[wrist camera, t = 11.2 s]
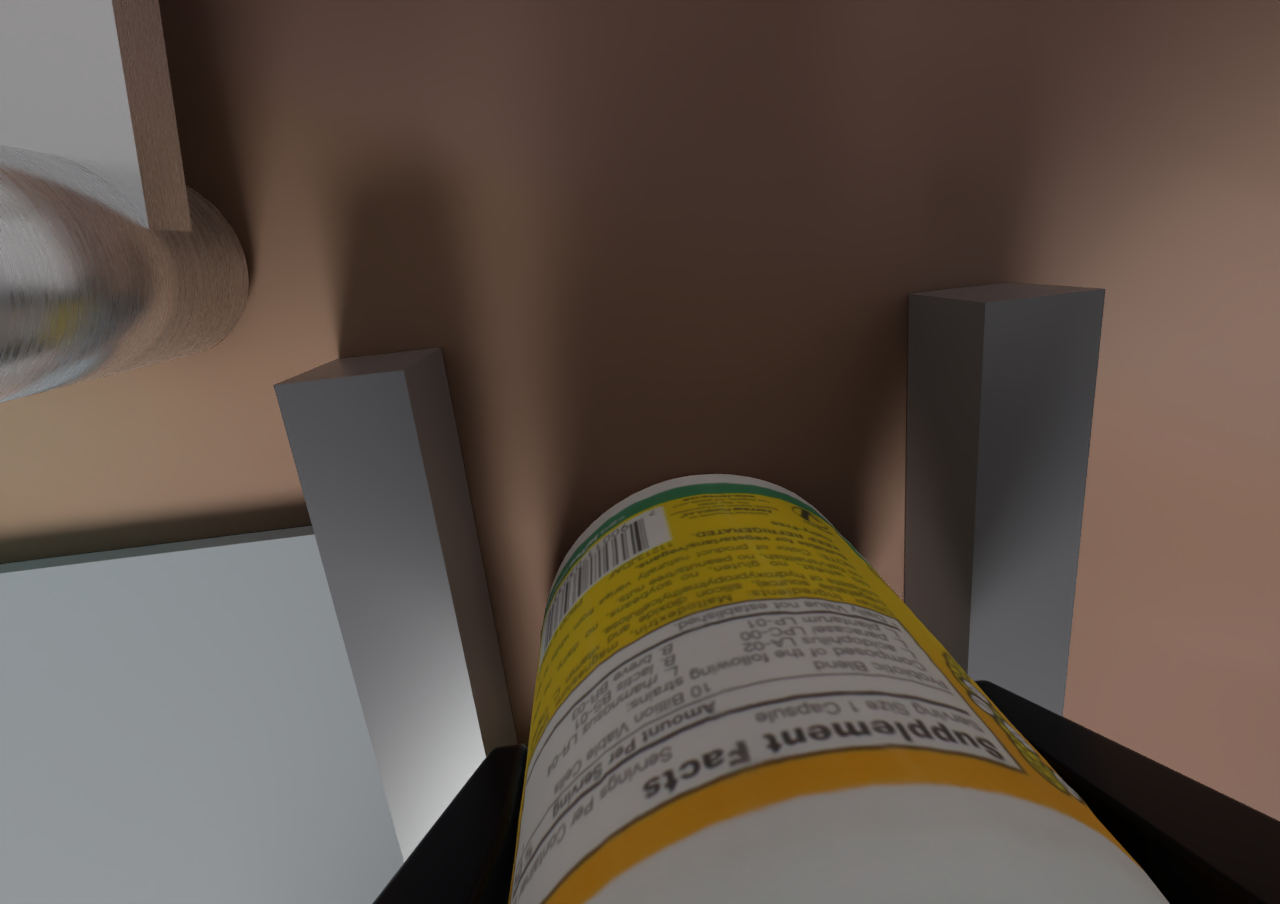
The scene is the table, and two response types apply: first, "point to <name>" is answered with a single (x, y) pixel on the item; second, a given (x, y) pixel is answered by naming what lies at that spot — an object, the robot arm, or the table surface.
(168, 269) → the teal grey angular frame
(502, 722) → the socket block
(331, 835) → the mat
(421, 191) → the table surface
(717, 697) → the supplement bottle
